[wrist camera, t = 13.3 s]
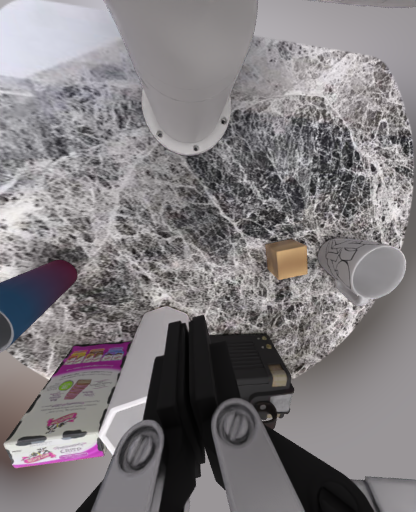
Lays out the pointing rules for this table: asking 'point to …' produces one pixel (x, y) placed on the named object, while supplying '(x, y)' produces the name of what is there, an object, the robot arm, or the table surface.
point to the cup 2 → (137, 374)
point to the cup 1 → (31, 297)
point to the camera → (260, 375)
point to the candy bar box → (70, 408)
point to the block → (286, 259)
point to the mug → (362, 267)
